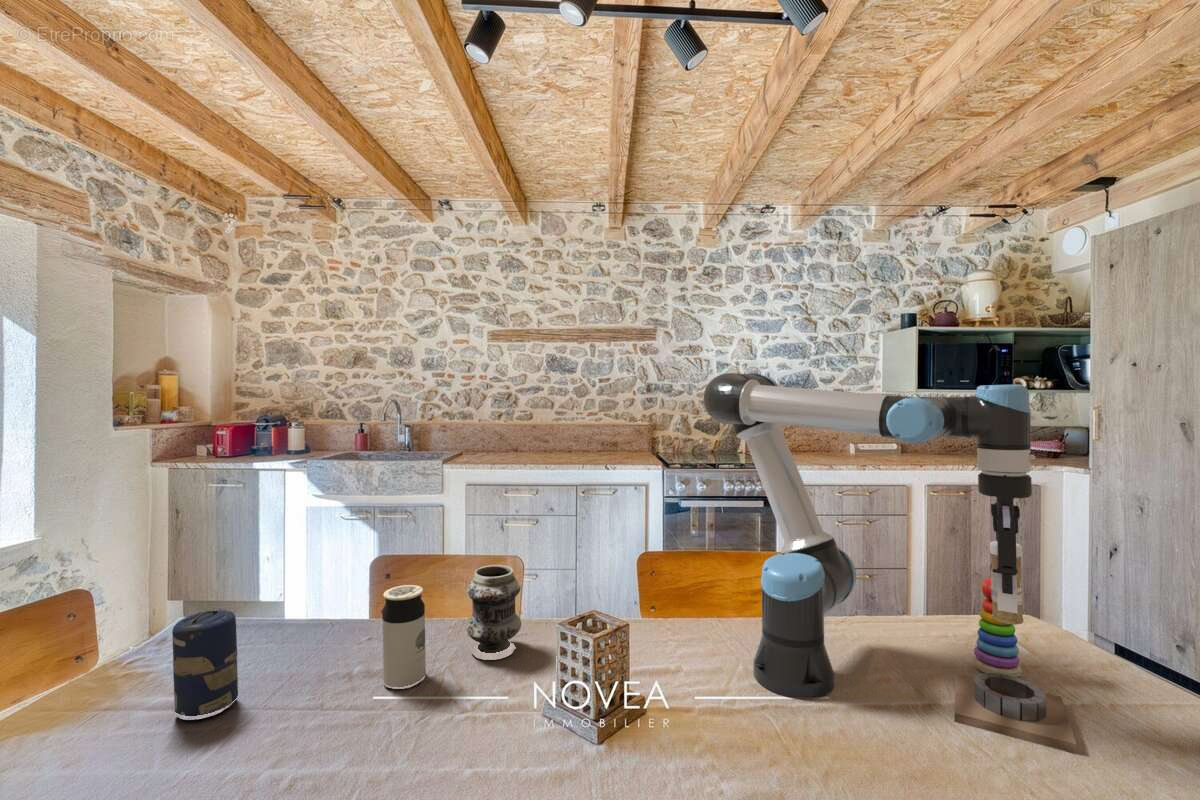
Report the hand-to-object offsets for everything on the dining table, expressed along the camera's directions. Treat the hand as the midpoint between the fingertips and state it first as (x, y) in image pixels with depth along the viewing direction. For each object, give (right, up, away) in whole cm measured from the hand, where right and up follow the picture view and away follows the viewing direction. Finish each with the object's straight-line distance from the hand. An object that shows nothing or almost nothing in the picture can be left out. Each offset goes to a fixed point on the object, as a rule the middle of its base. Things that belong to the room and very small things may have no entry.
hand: (1006, 606), depth 96 cm
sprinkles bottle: (0, -3, 0) cm, 3 cm away
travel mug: (-110, -20, +14) cm, 113 cm away
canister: (-143, -21, +4) cm, 144 cm away
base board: (+1, -19, +1) cm, 19 cm away
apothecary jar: (-95, -20, +26) cm, 100 cm away
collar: (+1, -18, +1) cm, 18 cm away
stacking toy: (+9, -19, +15) cm, 26 cm away
